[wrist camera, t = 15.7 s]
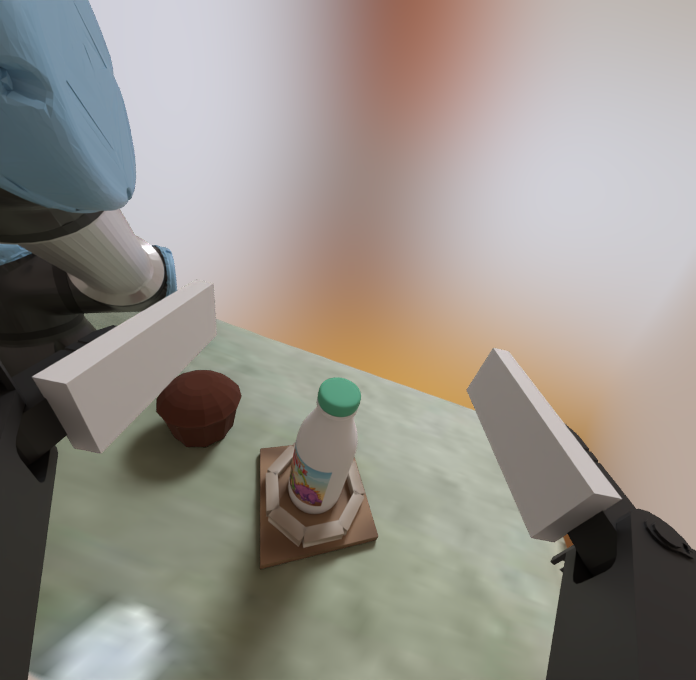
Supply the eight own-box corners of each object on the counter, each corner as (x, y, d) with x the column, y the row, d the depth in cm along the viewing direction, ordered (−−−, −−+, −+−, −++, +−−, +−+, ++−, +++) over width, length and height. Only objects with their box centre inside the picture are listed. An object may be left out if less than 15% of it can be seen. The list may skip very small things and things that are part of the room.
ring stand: (260, 453, 42) (260, 442, 41) (347, 443, 47) (351, 433, 46) (260, 569, 31) (260, 560, 29) (375, 539, 36) (381, 531, 34)
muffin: (253, 410, 49) (254, 370, 44) (218, 464, 40) (214, 421, 34) (193, 392, 49) (187, 350, 44) (144, 442, 40) (129, 396, 35)
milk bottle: (326, 455, 43) (352, 361, 32) (349, 501, 38) (390, 407, 27) (280, 473, 39) (293, 374, 28) (299, 527, 34) (324, 430, 23)
